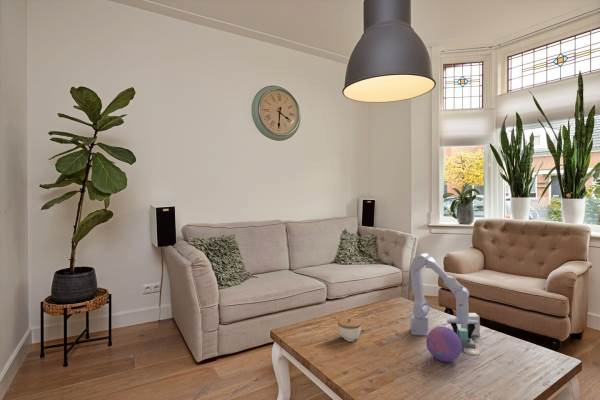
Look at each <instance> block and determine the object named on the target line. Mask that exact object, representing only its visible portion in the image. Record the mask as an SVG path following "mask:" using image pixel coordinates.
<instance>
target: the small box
mask: <svg viewBox="0 0 600 400" xmlns="http://www.w3.org/2000/svg"><path fill="white" fill-rule="evenodd" d="M480 318H481V317H480V315H478V314H477V313H476V312H469V319H471V320H477V321H478V325H475V329H474V331H473V333H472V335H471V336H480V335H481V329H480V328H481V320H480ZM460 328H466V330H467V331H468V326H467V325H464V324H460Z"/></svg>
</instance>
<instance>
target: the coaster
mask: <svg viewBox="0 0 600 400" xmlns="http://www.w3.org/2000/svg"><path fill="white" fill-rule="evenodd" d="M463 352H464V353H465V354H467V355H470V356H479V355H480V350H479V349H476V348H463Z"/></svg>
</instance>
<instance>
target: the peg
mask: <svg viewBox="0 0 600 400" xmlns="http://www.w3.org/2000/svg"><path fill="white" fill-rule="evenodd" d="M457 335H458V337H459V338H460V341H462V342H468V331H467V330H466V328H461V327H458V329H457Z"/></svg>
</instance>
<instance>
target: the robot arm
mask: <svg viewBox="0 0 600 400" xmlns="http://www.w3.org/2000/svg"><path fill="white" fill-rule="evenodd" d="M423 268H426V269H431V270H432V271H434V273H436V274H437V275H438V276H439V277H440V278H441V279H442V280H443V284H444V285H445V286H446V287H447V288H448V289H449V290H450V291H451V292H452V294H454V298H455V299H456V300H455V301H456V302H455V307H456V308H455V312H456V313H455V315H456V316H455V317H454V318H446V323H447V324H448V325H451V328H452V330H453V331H454V332H455V333H456V334H457V329H458V328H459V327H458V325H461V324H464V325H467V326H468V338H469V339H472V336H473V335H472V333H473V331H474V329H475V325H478V321H477V320H471V319H469V313H470V312H469V309H470V308H469V297H470V290H469V289H468V288H467V287H465V286H464V285H463V284H461V283H460V282H459V281H458V280H457V277H453V276H452V275H448V273H447V272H446V271H445V270H444V269H443V268H442V267H441V266H440V264H439V263H438V262H437V261H436V259H434V257H432V256H431V255H430V253H428V252H423V253H421V254H418V255H416V256H415V257H414V258H413V259H412V262H411V265H410V267H409V269H410V277H411V283H412V284H411V285H412V291H413V297H414V301H413V310H412V314H413V315H410V318H409V321H410V323H409V324H410V327H409V329H410V333H411V335H412V336H414V335H415V336H426V337H427V335H428V333H429V332H430V330H429V315H428V313H430V310H431V309H430V306H429V304H428V301H427V300H426V297H425V294H424V293H425V292H424V287H423V286H424V285H423V280H422V273H421V270H422V269H423Z"/></svg>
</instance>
